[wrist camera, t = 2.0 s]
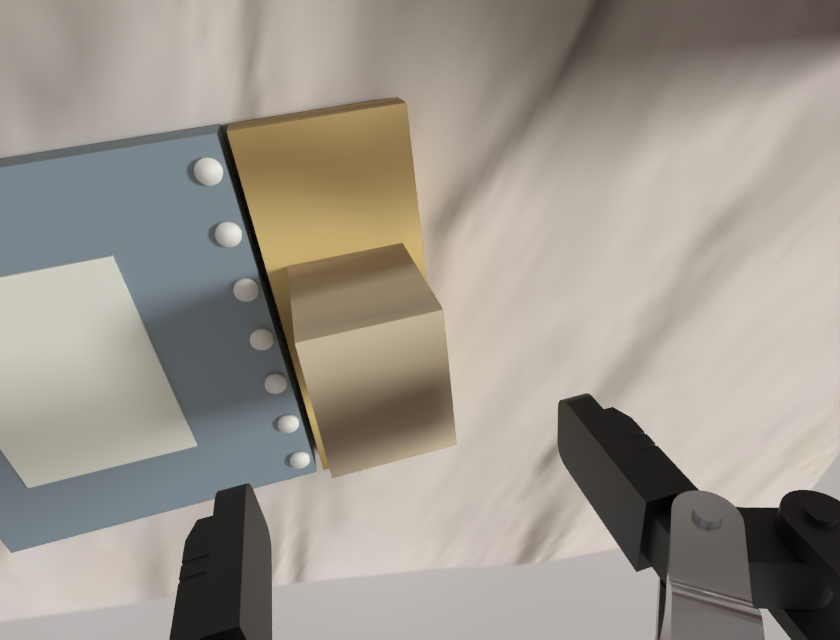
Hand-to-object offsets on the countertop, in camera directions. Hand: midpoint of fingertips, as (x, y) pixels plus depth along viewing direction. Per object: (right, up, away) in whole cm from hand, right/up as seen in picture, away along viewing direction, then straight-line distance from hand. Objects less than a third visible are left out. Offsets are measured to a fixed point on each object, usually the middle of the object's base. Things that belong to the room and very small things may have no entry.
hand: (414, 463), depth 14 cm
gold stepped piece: (-3, +5, +7) cm, 9 cm away
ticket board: (-11, +3, +6) cm, 13 cm away
